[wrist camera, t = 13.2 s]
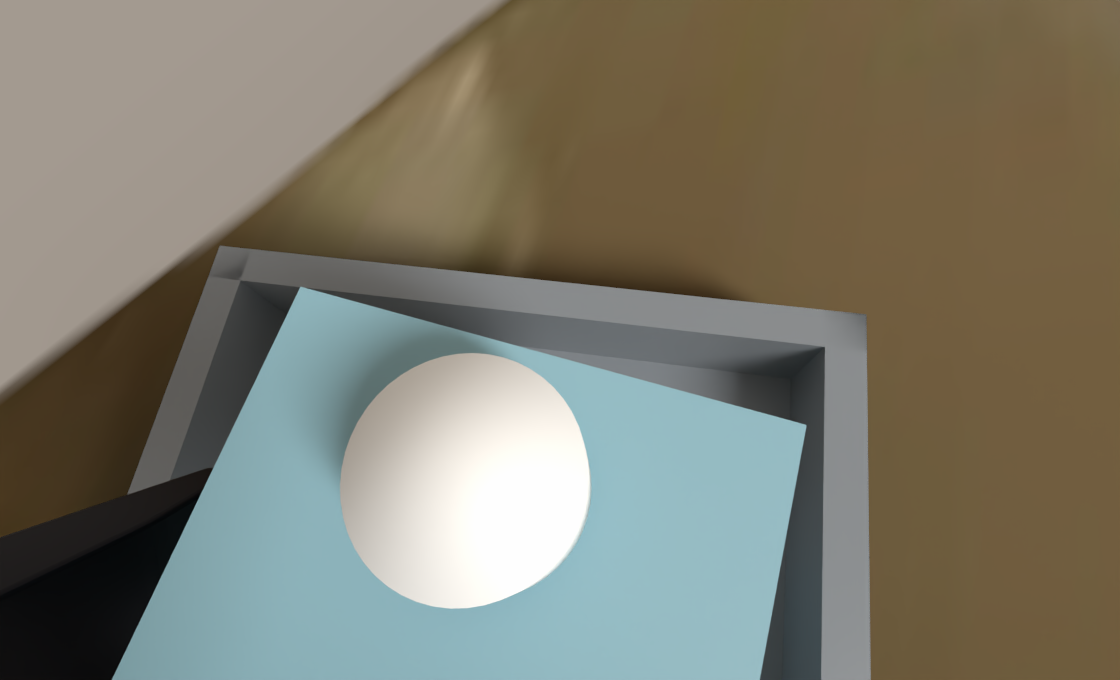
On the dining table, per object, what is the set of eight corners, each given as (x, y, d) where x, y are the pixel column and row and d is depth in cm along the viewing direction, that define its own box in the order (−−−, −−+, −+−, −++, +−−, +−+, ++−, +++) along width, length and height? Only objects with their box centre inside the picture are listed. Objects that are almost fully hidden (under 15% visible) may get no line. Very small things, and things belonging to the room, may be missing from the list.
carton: (623, 705, 16) (684, 1400, 3) (445, 640, 16) (-128, 943, 4) (670, 513, 17) (849, 397, 4) (504, 461, 18) (243, 238, 5)
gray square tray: (804, 1068, 14) (877, 1263, 10) (100, 887, 16) (-58, 990, 12) (816, 361, 19) (866, 314, 15) (288, 299, 21) (219, 245, 18)
